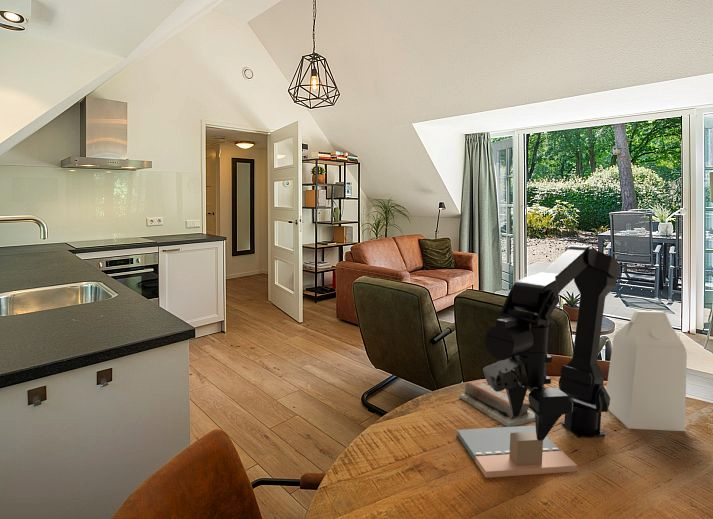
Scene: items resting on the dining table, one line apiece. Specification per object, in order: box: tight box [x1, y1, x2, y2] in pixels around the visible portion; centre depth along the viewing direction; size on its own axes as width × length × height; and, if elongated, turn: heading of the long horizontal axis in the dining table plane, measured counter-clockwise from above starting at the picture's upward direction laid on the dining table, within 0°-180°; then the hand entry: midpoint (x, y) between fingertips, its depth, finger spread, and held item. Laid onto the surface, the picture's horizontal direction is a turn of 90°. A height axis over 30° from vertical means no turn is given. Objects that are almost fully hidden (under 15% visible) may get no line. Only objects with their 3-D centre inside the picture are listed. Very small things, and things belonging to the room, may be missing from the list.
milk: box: [605, 310, 688, 432], centre depth 100 cm, size 12×12×26 cm
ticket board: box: [456, 424, 562, 462], centre depth 89 cm, size 18×10×1 cm, turn 96°
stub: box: [474, 431, 578, 479], centre depth 81 cm, size 18×5×6 cm, turn 96°
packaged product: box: [459, 378, 535, 427], centre depth 106 cm, size 18×5×10 cm
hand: (527, 427), depth 81 cm, fingers open, 9 cm apart
